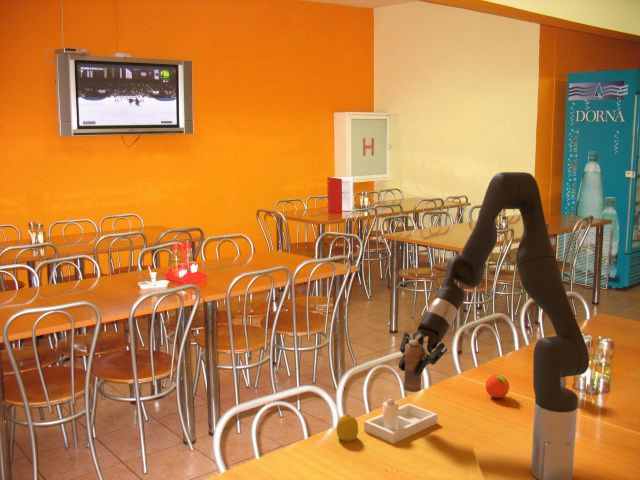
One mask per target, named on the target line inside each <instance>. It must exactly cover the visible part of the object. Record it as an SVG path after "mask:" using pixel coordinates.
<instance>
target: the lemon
mask: <svg viewBox="0 0 640 480" xmlns="http://www.w3.org/2000/svg"><path fill="white" fill-rule="evenodd" d="M358 433H359V425H358V421H357V419H356V418H355V416H353V415H351V414H349V413H346V414H344V415H342V416H340V417H339V419H338V421H337V423H336V435H337V437H338V439H339V440H340V441H342V442H345V443H347V442H349V443H350V442H353V441H354V440H356V439H357V438H358V437H357V436H358V435H359V434H358Z"/></svg>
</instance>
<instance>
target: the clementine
mask: <svg viewBox="0 0 640 480" xmlns="http://www.w3.org/2000/svg"><path fill="white" fill-rule="evenodd" d="M485 390H486V393H487V394H488V395H489V396H490V397H492V398H494V399H502V398H503V397H506V395H507V394H508V393H509V390H510V383H509V381H508V380H507V378H506V377H504V375H501V374H493V375H491V376H489V377H487V379H486V381H485Z"/></svg>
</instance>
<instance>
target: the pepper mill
mask: <svg viewBox="0 0 640 480" xmlns="http://www.w3.org/2000/svg"><path fill="white" fill-rule="evenodd" d="M421 356H422V345H421V344H418V341H417V340H410V341H409V343H408V344H406V345H405V370H404V374H403V375H404V378H403V379H404V381H403V383H404V384H403V389H404V390H405V391H407V392H410V393H416V392H417V393H418V392H420V391H421V389H422V374H420V375H419V376H416V375H415V374H414V373H413V370H414V369H415V367H416V365H417V363H418V362H419V360H421Z"/></svg>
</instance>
